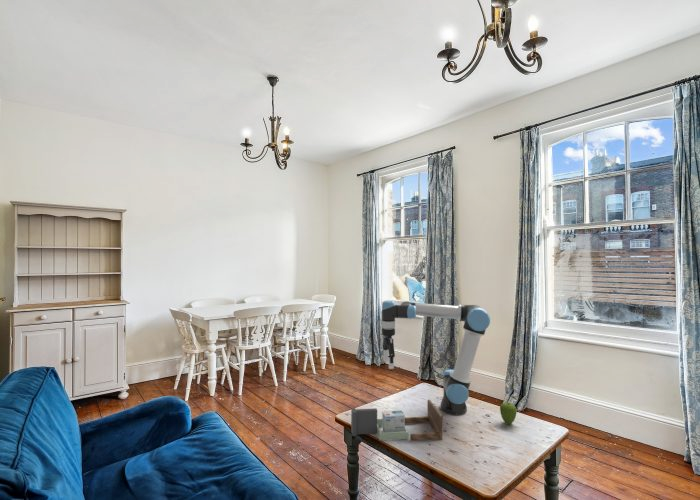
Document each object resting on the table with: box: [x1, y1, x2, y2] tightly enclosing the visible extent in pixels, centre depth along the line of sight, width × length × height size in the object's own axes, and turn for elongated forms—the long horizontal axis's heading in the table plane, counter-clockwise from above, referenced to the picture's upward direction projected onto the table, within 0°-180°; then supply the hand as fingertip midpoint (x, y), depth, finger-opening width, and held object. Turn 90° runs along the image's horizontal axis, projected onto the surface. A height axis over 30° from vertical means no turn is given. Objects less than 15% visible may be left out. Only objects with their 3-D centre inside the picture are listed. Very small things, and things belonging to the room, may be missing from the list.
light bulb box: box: [381, 409, 406, 432], centre depth 187 cm, size 11×7×11 cm, turn 98°
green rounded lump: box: [499, 401, 518, 425], centre depth 198 cm, size 9×8×12 cm
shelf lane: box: [405, 399, 444, 442], centre depth 189 cm, size 16×20×12 cm
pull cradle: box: [350, 407, 409, 441], centre depth 187 cm, size 28×16×12 cm, turn 96°
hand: (388, 364), depth 209 cm, fingers open, 13 cm apart
